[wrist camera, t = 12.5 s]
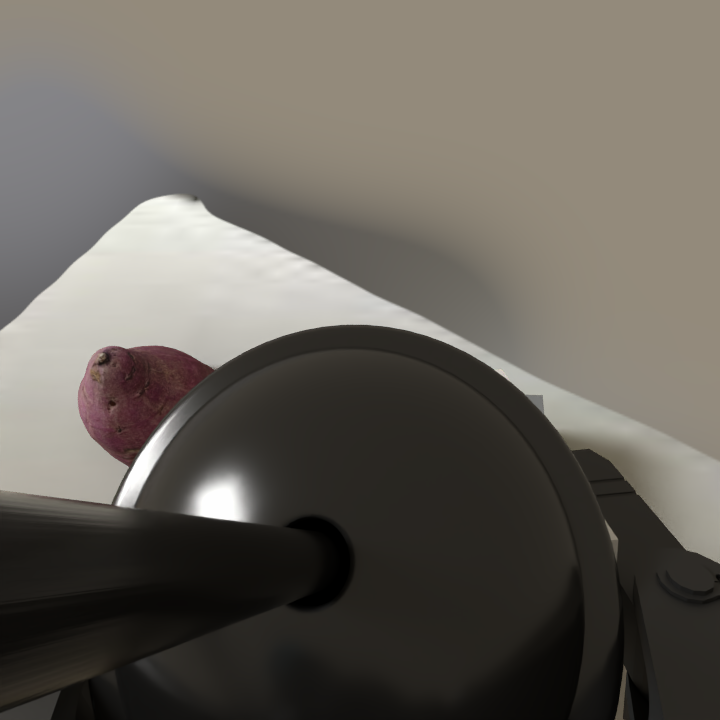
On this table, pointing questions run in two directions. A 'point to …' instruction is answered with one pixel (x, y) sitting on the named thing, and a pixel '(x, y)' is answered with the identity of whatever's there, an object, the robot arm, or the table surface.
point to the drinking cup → (325, 552)
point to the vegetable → (133, 394)
